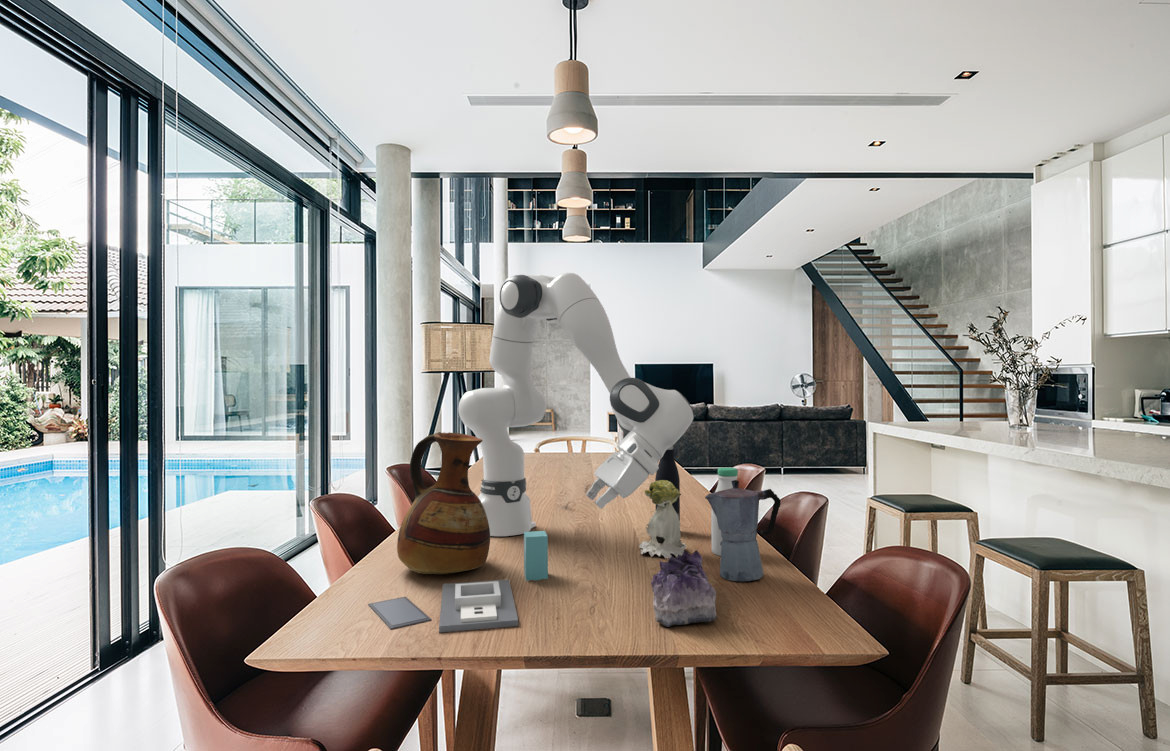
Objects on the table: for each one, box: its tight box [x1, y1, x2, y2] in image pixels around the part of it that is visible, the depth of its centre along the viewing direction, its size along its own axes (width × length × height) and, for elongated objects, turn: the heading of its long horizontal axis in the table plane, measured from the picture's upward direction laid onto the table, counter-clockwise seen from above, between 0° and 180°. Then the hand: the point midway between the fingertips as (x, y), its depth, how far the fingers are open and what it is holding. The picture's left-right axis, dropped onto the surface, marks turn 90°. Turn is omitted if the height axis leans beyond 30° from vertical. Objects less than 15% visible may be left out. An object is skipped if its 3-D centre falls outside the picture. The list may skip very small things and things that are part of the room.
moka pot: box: [704, 480, 782, 582], centre depth 133 cm, size 10×15×20 cm, turn 88°
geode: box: [650, 550, 718, 628], centre depth 115 cm, size 20×12×10 cm, turn 173°
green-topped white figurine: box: [638, 480, 688, 559], centre depth 152 cm, size 11×12×17 cm
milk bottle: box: [710, 466, 739, 557], centre depth 150 cm, size 8×8×20 cm
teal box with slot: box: [523, 530, 549, 582], centre depth 134 cm, size 4×5×9 cm
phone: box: [367, 596, 432, 630], centre depth 114 cm, size 7×14×1 cm, turn 34°
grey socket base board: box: [438, 578, 519, 633], centre depth 117 cm, size 22×13×3 cm, turn 11°
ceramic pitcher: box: [396, 431, 491, 575], centre depth 139 cm, size 20×20×30 cm
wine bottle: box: [654, 445, 681, 522], centre depth 170 cm, size 6×6×30 cm
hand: (592, 501), depth 136 cm, fingers open, 8 cm apart
